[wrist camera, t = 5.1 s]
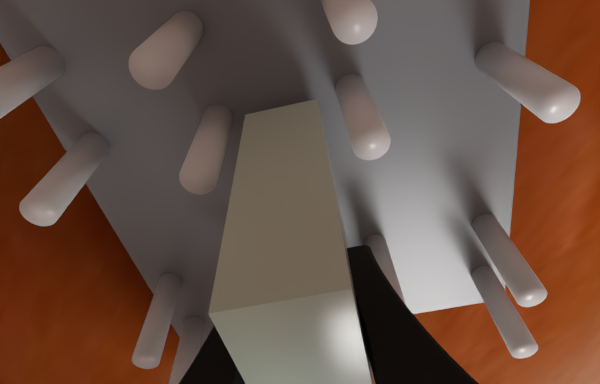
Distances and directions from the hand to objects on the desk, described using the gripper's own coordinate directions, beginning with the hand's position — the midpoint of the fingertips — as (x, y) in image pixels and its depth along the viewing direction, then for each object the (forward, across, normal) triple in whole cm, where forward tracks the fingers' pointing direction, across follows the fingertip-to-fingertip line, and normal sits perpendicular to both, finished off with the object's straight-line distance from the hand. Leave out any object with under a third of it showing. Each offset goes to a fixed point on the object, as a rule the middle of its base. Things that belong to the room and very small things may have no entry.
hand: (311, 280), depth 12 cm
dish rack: (+6, 0, 0) cm, 6 cm away
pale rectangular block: (+4, 0, 0) cm, 4 cm away
